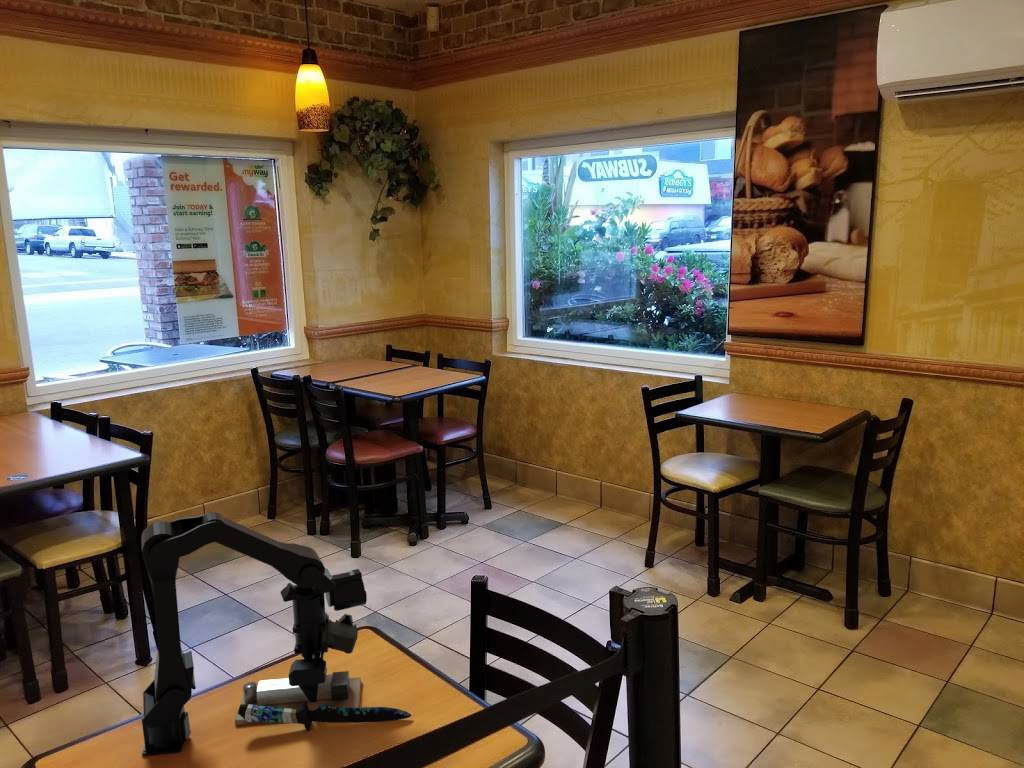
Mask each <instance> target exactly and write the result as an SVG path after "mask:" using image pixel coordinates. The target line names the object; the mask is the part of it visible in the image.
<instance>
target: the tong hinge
mask: <svg viewBox="0 0 1024 768" xmlns="http://www.w3.org/2000/svg"><path fill="white" fill-rule="evenodd" d="M257 687H258V685H257V683H256V682H255V681H249V682H245V683H244V684H243V686H242V692H243V693H242V694H244V703H245V704H251V705H252V704H255V703H256V702H257Z"/></svg>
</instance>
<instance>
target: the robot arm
mask: <svg viewBox="0 0 1024 768" xmlns="http://www.w3.org/2000/svg"><path fill="white" fill-rule="evenodd" d="M212 543H217V544H218V545H221V546H222V547H223V546H224V547H226V548H228V549H230V550H232V551H235V552H237V553H240V554H242V555H244V556H247V557H250V558H251V559H254V560H256V561H259V562H261V563H263V564H266V565H268V566H270V567H272V568H273V569H275V570H276V572H277V571H278V572H279V573H280V574H281V575H282V576H283V577H285V579H287V580H289V582H287V584H286V586H285V587H284V588H282V589H281V590H280V592H279V593H280V596H281V598H282V600H283V602H285V603H288V602H291V601H292V612H293V613H292V614H293V626H292V634H294V638H295V645H294V647H293V649H294V650H293V651H294V652H293V653H294V654H295V655H297V654H300V656H301V658H302V659H301V658H299V659H295V660H294V661H293V662H292V663H291V665H290V668H289V673H288V678H289V685H291V686H299V687H300V689H301V690H302V691H303V693H304V694H305V696H306V697H307V698H308V700H309V701H310V702H316V700H317V693H318V685H319V684H322V683H323V682H325V679H326V675H327V671H328V667H327V661H326V660H325V659H324V654H325V653H328V652H329V649H330V650H331V649H332V650H335V651H340V652H343V653H345V654H352V653H353V652H354V648H355V645H356V642H357V640H358V636H359V635H358V634H359V629H358V627H357V624H356V623H355V624H354V620H353V619H354V618H353V616H352V615H350V614H347V613H344V614H343V615H342V616H341V617H340V618H339V619H335V621H332V620H331V619H330V616H329V614H328V613H327V612H326V604H327V606H328V607H329V608H331V607H332V608H333V611H335V612H339V611H342V610H347V609H351V608H352V609H353V608H357V607H360V606H361V607H362V606H365V605H366V604H367V600H368V598H367V597H368V594H367V591H366V588H365V584H364V580H363V573H362V572H361V571H360V569H359V568H356V569H352V570H349V571H346V572H342V573H337V574H333V575H332V574H331V573H330V570H328V568H326V567H325V565H324V563H323V561H322V560H321V558H320V556H319V555H318V553H317V551H316V550H315V548H312V547H310V546H305V545H302V544H297V543H294V542H293V543H291V542H290V543H288V542H287V543H286V542H281V541H278V540H276V539H273V538H271V537H269V536H267V535H265V534H262V533H260V532H258V531H255V530H253V529H251V528H249V527H246V526H244V525H242V524H240V523H237V522H235V521H233V520H231V519H228V518H226V517H224V516H223V515H222V514H220V513H219V512H215V511H213V512H208V513H204V514H201V515H197V516H196V515H195V516H189V517H181V518H177V519H173V520H170V521H165V520H164V521H163V520H162V521H161V520H160V521H159V520H158V521H156V522H151V524H149V525H147V527H146V528H145V529H144V530H143V531H142V533H141V555H142V556H141V557H142V559H143V562H144V565H145V570H146V572H147V574H148V577H149V580H150V583H151V585H152V595H153V605H154V606H153V607H154V616H155V617H154V618H155V628H156V630H155V631H156V638H157V650H158V651H157V656H156V660H155V669H154V678H153V680H152V682H150V684H149V685H148V686H147V687H146V688H145V689H144V691H143V692H142V701H143V702H142V704H143V714H142V716H141V726H142V733H143V734H142V735H143V741H144V746H143V748H142V750H141V755H142V756H152V755H161V754H173V753H180V752H182V750H183V748H184V745H185V743H186V742H187V741H188V738H189V736H190V733H191V727H190V718H189V712H188V711H186V710H185V705H186V704H187V703H188V701H189V702H190V701H191V698H192V694H193V693H192V691H193V690H196V686H197V685H196V681H195V672H194V671H195V667H194V666H195V665H194V660H193V653H192V651H191V650H189V651H186V652H184V651H183V649H182V645H181V634H180V620H179V608H178V597H177V594H178V593H177V585H176V580H177V575H178V571H179V566H180V565H179V563H180V558H182V557H186V556H188V555H190V554H193V553H194V552H196V551H197V550H200V549H201V548H203V547H205V546H207V545H209V544H212ZM325 599H326V600H325ZM325 602H326V603H325Z"/></svg>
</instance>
